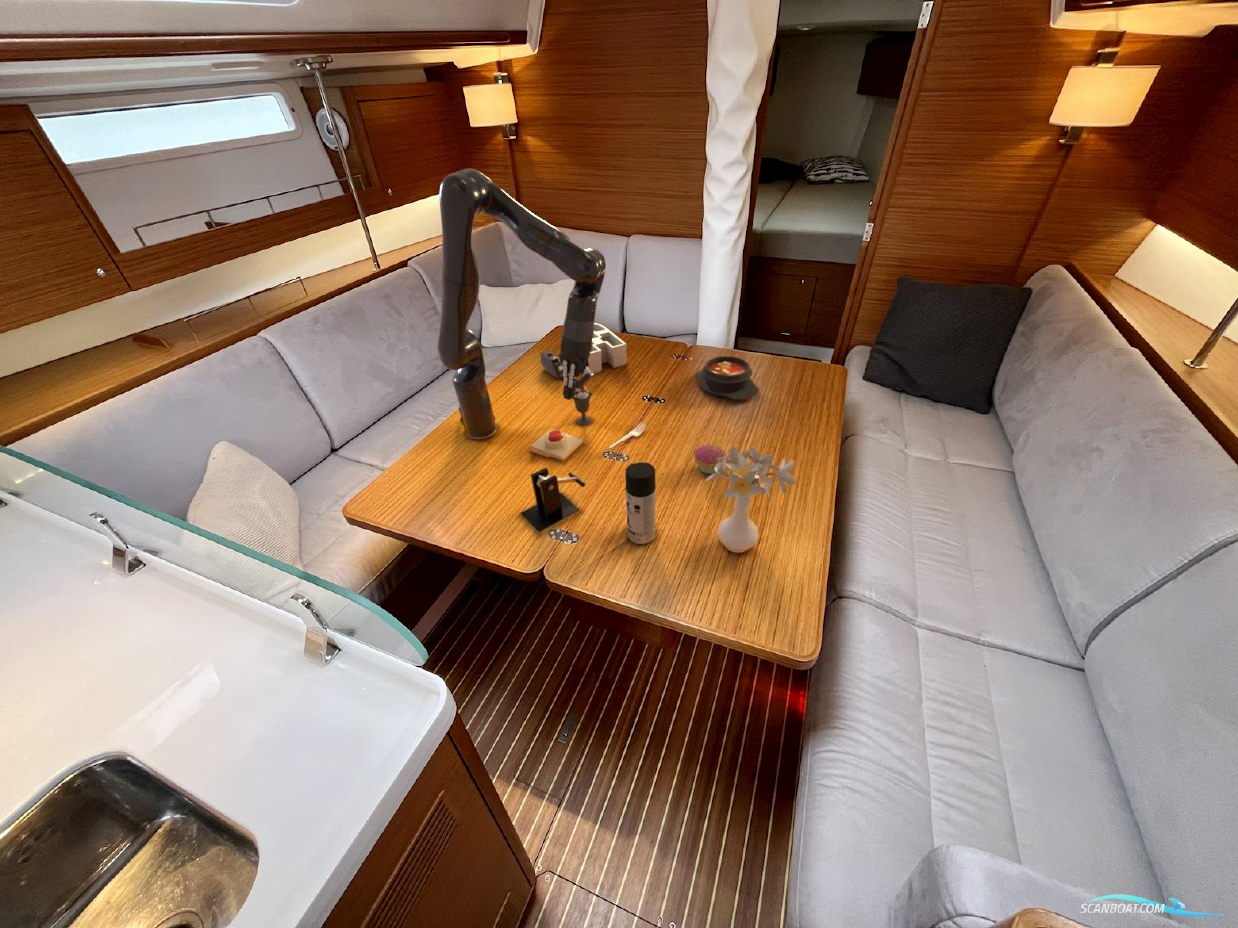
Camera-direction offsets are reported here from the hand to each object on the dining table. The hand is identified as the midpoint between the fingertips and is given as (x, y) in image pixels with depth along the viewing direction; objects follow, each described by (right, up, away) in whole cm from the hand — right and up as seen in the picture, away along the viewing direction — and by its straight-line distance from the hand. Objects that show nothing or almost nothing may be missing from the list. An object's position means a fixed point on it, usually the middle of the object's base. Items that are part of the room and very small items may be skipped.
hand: (568, 398), depth 132 cm
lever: (-2, -23, -8) cm, 24 cm away
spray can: (+19, -35, -11) cm, 41 cm away
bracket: (-4, -30, -4) cm, 31 cm away
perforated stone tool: (-11, +16, +56) cm, 60 cm away
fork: (+15, -11, +19) cm, 27 cm away
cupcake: (+39, -19, +7) cm, 44 cm away
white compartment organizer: (+3, +25, +67) cm, 72 cm away
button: (-5, -10, +16) cm, 20 cm away
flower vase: (+42, -36, -15) cm, 57 cm away
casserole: (+51, +9, +42) cm, 67 cm away
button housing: (-5, -13, +18) cm, 23 cm away
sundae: (+2, -4, +29) cm, 30 cm away
